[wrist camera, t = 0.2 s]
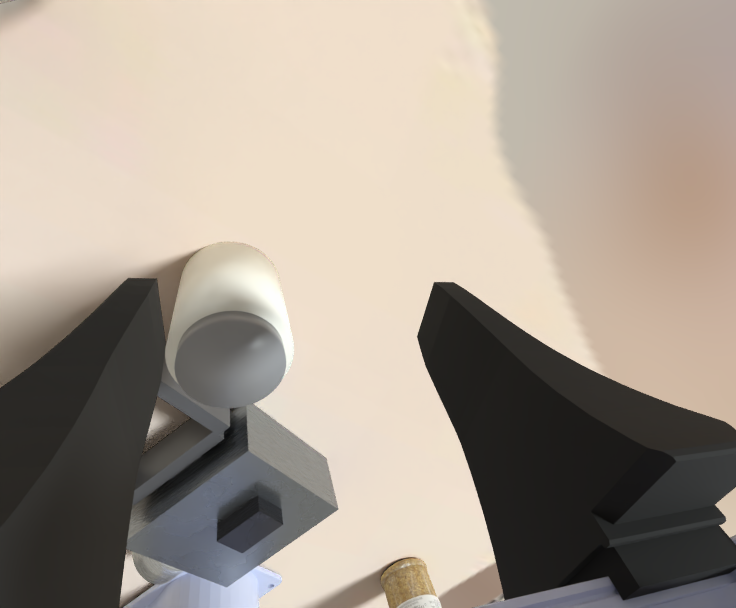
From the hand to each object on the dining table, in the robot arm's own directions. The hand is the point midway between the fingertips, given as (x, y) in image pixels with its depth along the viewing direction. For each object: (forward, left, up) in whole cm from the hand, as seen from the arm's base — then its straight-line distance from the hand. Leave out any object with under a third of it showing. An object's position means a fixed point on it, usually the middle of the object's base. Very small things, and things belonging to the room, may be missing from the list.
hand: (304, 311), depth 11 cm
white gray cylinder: (-4, -2, -11) cm, 12 cm away
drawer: (-13, -12, -10) cm, 21 cm away
